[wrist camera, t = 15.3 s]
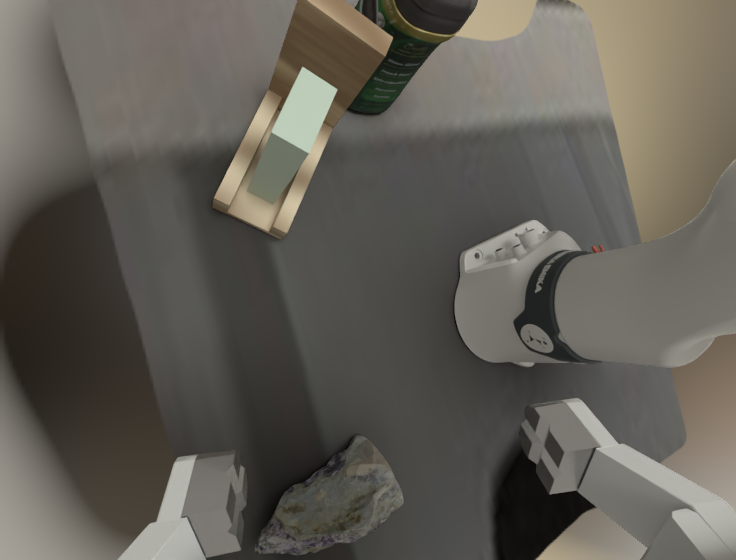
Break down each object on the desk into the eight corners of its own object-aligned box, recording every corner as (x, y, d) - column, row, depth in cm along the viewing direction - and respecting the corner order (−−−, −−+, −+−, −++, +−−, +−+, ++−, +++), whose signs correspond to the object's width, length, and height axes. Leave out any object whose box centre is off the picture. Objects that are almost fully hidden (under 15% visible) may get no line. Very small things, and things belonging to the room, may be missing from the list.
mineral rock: (248, 545, 38) (266, 616, 29) (264, 431, 40) (286, 464, 31) (367, 532, 43) (414, 589, 34) (377, 431, 45) (424, 460, 36)
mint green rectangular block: (268, 143, 42) (301, 66, 29) (295, 157, 43) (338, 89, 30) (245, 190, 40) (270, 131, 28) (273, 204, 41) (309, 153, 29)
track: (270, 90, 43) (309, -25, 29) (329, 127, 46) (393, 37, 31) (212, 207, 40) (223, 142, 25) (280, 239, 42) (326, 197, 28)
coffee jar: (393, 118, 50) (496, 15, 33) (335, 113, 46) (416, -5, 29) (384, 46, 50) (481, -93, 33) (325, 35, 47) (400, -126, 30)
